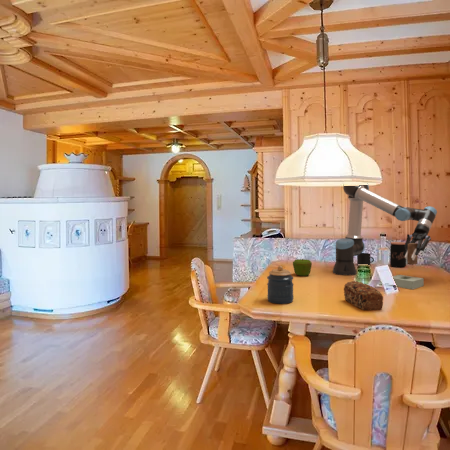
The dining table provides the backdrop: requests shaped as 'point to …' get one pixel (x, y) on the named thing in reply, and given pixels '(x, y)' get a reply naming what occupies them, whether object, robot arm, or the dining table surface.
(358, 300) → the bread
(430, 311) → the dining table surface
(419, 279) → the end cap
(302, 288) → the dining table surface
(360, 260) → the mug
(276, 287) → the canister
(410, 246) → the slat
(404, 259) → the coffee jar
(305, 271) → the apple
